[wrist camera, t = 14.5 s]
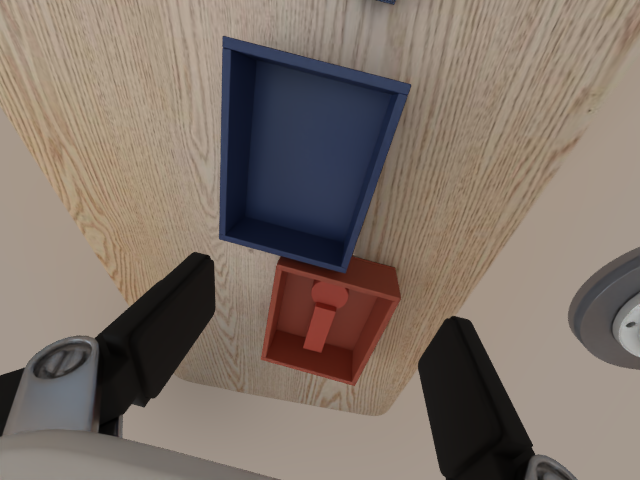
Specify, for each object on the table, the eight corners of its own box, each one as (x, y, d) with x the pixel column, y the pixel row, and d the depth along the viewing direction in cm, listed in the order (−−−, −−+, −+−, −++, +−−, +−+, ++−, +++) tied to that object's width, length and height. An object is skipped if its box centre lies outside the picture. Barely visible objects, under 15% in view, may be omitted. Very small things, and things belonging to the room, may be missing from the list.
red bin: (355, 351, 35) (354, 386, 31) (273, 328, 36) (260, 359, 31) (395, 267, 28) (401, 298, 23) (289, 239, 28) (276, 264, 24)
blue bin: (347, 246, 27) (345, 273, 23) (241, 217, 28) (218, 239, 23) (400, 88, 20) (411, 84, 15) (252, 49, 20) (222, 35, 16)
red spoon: (330, 337, 34) (328, 355, 32) (300, 328, 34) (296, 346, 32) (353, 275, 28) (352, 291, 26) (318, 265, 28) (313, 280, 26)
